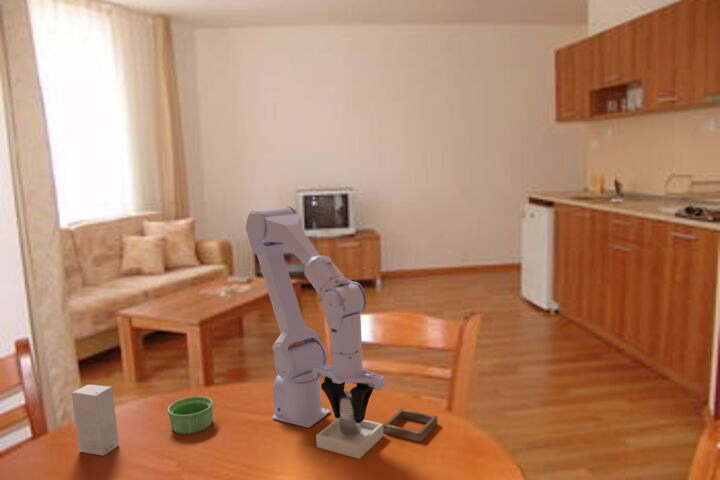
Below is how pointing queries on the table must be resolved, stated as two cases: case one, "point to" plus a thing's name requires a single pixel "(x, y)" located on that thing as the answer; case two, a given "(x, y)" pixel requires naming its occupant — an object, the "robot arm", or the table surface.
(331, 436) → the beige shallow square tray
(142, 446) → the table surface
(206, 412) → the ramekin
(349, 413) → the dowel pin
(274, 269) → the robot arm
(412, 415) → the walnut collar
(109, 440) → the skincare box
